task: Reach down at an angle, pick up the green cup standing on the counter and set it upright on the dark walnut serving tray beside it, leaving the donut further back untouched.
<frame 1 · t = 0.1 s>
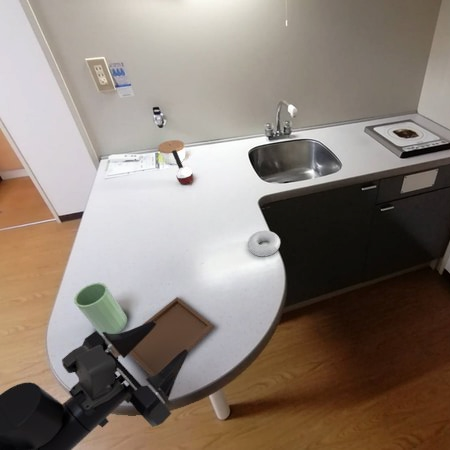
hand: (170, 335, 54), 17 cm above the worktop, tool horizontal, fingers open, 9 cm apart
donut: (264, 247, 95), on the worktop
serving tray: (169, 337, 72), on the worktop
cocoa: (186, 182, 124), on the worktop
green cup: (113, 324, 74), on the worktop
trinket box: (175, 161, 137), on the worktop
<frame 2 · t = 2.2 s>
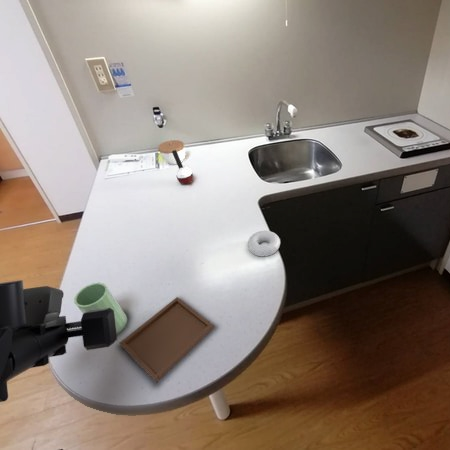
hand: (82, 321, 59), 14 cm above the worktop, tool tilted 50°, fingers open, 9 cm apart
nothing on the worktop moved.
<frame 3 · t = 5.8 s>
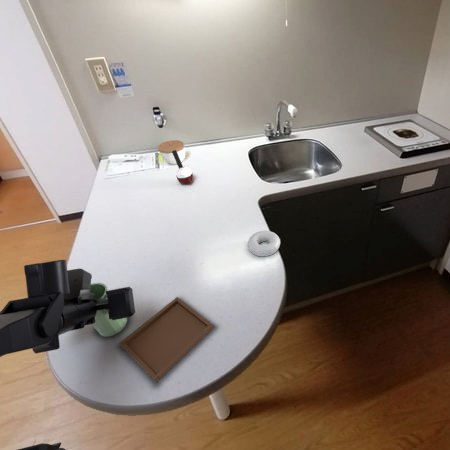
hand: (103, 303, 71), 7 cm above the worktop, tool tilted 45°, fingers closed on green cup, 6 cm apart
green cup: (113, 324, 74), on the worktop, touching gripper
everything else where it was.
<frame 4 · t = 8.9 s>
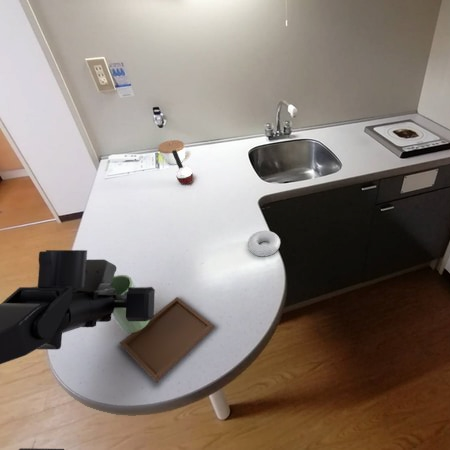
hand: (128, 297, 67), 11 cm above the worktop, tool tilted 45°, fingers closed on green cup, 6 cm apart
green cup: (135, 320, 70), point 5 cm above the worktop, touching gripper
everything else where it was.
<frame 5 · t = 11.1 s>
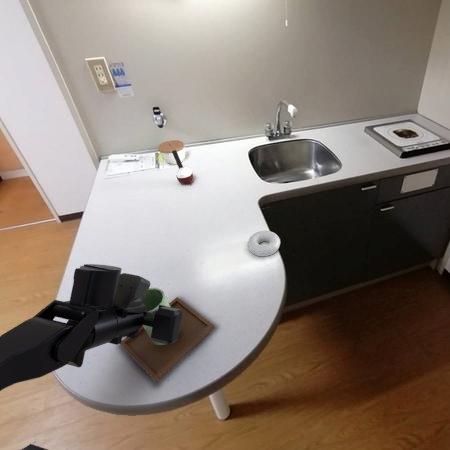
hand: (160, 310, 67), 9 cm above the worktop, tool tilted 45°, fingers closed on green cup, 6 cm apart
green cup: (165, 332, 70), point 3 cm above the worktop, touching gripper
everything else where it was.
when the fingers open (7 cm above the worktop, at t = 12.4 s): green cup stays where it is, resting on serving tray.
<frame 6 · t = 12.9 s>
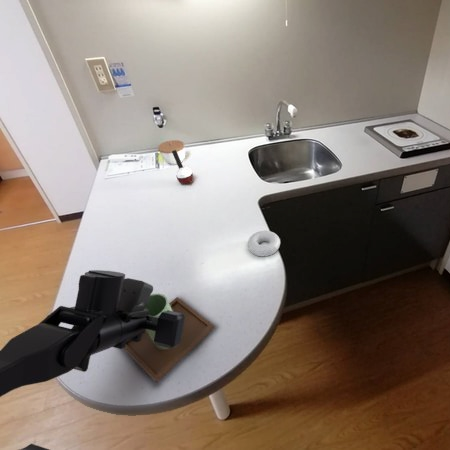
hand: (162, 313, 68), 8 cm above the worktop, tool tilted 45°, fingers open, 9 cm apart
green cup: (168, 336, 71), resting on serving tray
everything else where it was.
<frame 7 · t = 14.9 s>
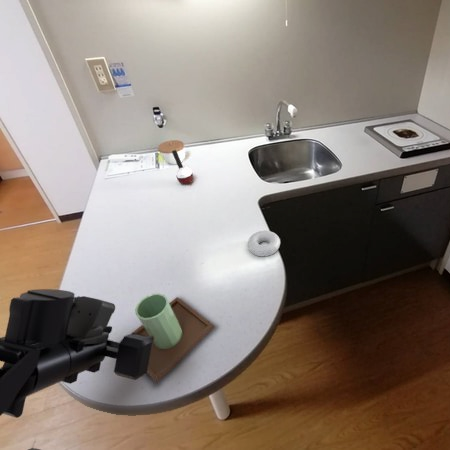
hand: (131, 333, 59), 13 cm above the worktop, tool tilted 45°, fingers open, 9 cm apart
nothing on the worktop moved.
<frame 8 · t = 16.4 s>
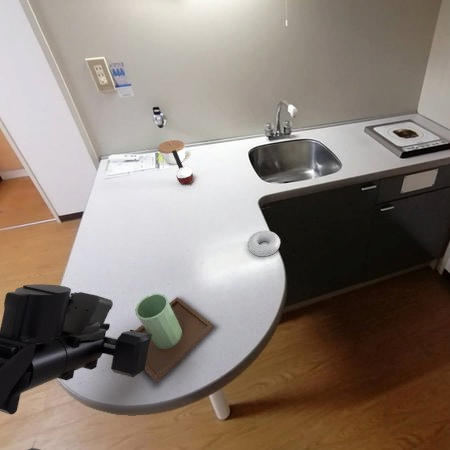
hand: (129, 331, 58), 14 cm above the worktop, tool tilted 45°, fingers open, 9 cm apart
nothing on the worktop moved.
at the end: green cup inside the target area in the serving tray (0.0 cm from its centre), point 0.5 cm above the serving tray's base; green cup tilted 0°; donut moved 0.2 cm from its start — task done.
